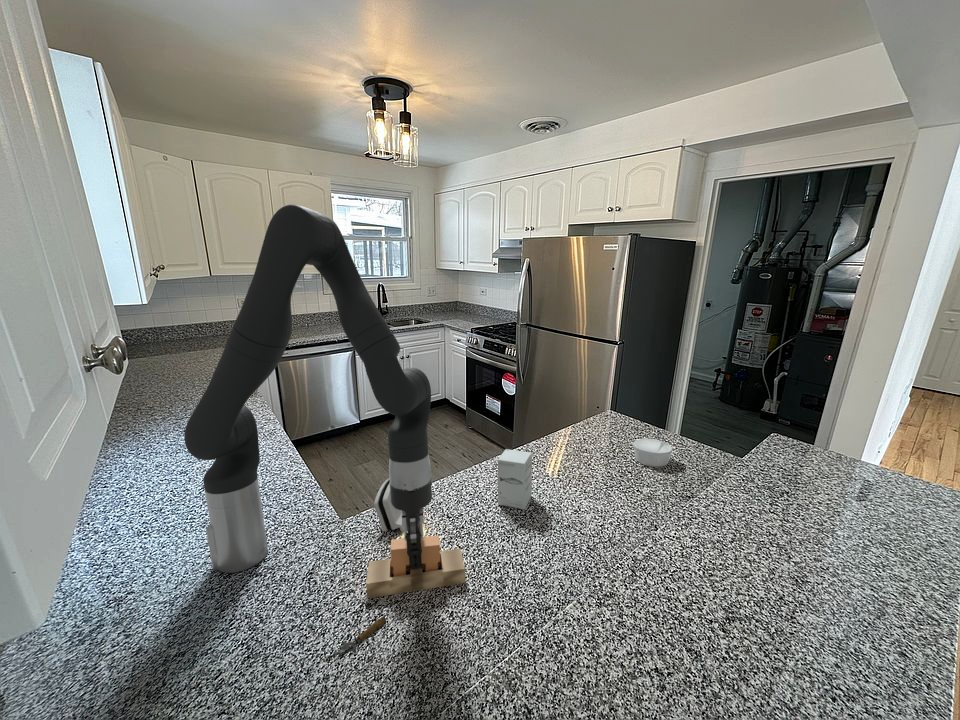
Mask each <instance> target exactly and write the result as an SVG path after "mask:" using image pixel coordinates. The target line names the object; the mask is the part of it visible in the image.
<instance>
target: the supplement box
mask: <svg viewBox="0 0 960 720" xmlns="http://www.w3.org/2000/svg"><path fill="white" fill-rule="evenodd" d="M532 459H533V453H532V452H529V451H521V450H515V449H508V448H505V449H504V451H503V452H502V453H501V454H500V456H499V457H498V459H497V505H498V506H503V507H504V506H506V507H511V508H516V509H518V510H519V509H520V510H526V508H527V506H528V505H529V504H528V503H530V502H529V501H530V500H531V498H532V490H533V489H532V487H533V485H532V484H533V478H532V477H533V460H532Z"/></svg>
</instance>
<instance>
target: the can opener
mask: <svg viewBox="0 0 960 720" xmlns="http://www.w3.org/2000/svg"><path fill="white" fill-rule="evenodd" d="M386 622H387V619H386V617H385V616H381V617H380V618H378V619H377V620H376V621H374V622H373V623H372V624H371V625H370V626H369V627H368V628H367V629H365V630H364V631H363V632H362V633H360V634H358V636H356V637H355V639H354V640H353V641H347V642H346V643H344V644H343V645H341V646H340V647H339V648H338V649H340V648H341V649H340V650H338V649H337V650H338V652H335V653H334V655H335V656H337V655H338V656H339V657H340V658H341V657H342V653H343V652H345V654H346V653H348V651H350V652H353V651H354V650H356V648H357V647H358V646H357V645H358V644H360V643H362V642H363V641H365V640H366V639H367V638H368V637H369V636H370V635H372V634H374V632H376V631H377V630H378V629H380V628H381V627H382V626H384V625H385V623H386ZM351 648H352V649H351Z"/></svg>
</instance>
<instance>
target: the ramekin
mask: <svg viewBox="0 0 960 720" xmlns="http://www.w3.org/2000/svg"><path fill="white" fill-rule="evenodd" d="M632 446H633V450H634V457H635V459H636V461H637V462H638V463H639V464H641V465H644V466H647V467H651V468H660V467H664V466H667V465H668V464H669V462H670V458H671V454H672V453H673V447H672V445H670V444H669V443H667V442H665V441H663V440H658V439H653V438H641V439H640V438H639V439H636V440H635V441H633V443H632Z"/></svg>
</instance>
